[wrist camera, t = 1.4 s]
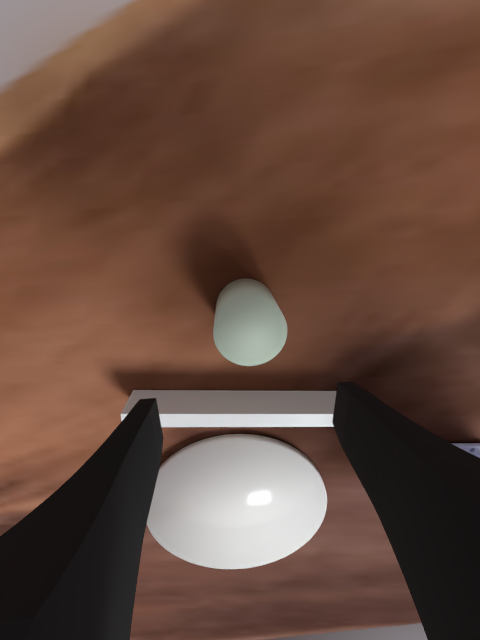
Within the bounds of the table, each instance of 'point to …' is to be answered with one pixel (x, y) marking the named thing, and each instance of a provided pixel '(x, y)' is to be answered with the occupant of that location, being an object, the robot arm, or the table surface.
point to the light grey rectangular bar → (239, 408)
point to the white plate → (236, 501)
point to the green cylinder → (248, 323)
